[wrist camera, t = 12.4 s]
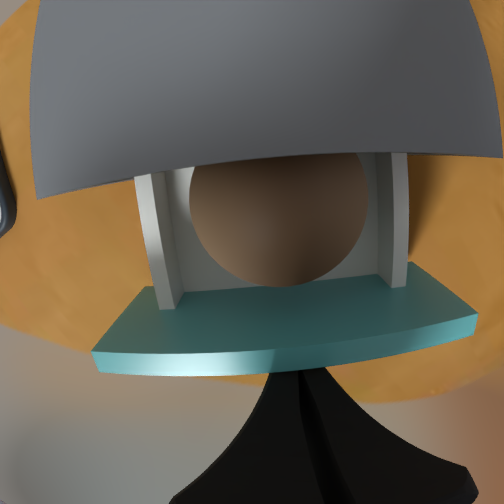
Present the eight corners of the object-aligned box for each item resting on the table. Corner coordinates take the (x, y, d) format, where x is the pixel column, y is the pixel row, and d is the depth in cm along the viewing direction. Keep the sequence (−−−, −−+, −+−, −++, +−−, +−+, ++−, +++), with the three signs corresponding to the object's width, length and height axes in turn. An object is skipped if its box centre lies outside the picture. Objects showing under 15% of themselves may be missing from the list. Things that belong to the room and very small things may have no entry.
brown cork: (327, 122, 10) (357, 104, 6) (339, 242, 11) (371, 274, 8) (202, 137, 10) (176, 125, 7) (221, 257, 11) (206, 296, 8)
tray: (410, 278, 12) (473, 335, 7) (148, 302, 13) (99, 371, 8) (389, 23, 9) (445, -29, 4) (116, 48, 10) (49, 4, 5)
